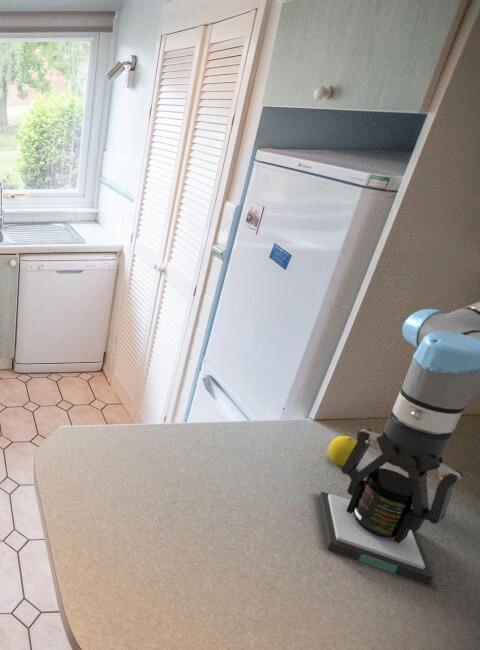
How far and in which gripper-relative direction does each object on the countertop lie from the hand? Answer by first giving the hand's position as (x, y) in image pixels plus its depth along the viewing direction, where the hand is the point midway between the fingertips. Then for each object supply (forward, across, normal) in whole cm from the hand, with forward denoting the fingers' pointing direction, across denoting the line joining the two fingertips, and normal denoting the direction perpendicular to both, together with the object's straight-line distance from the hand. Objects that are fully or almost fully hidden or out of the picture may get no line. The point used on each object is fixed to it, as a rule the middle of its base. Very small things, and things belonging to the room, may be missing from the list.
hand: (375, 523), depth 84 cm
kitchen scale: (+4, 0, 0) cm, 4 cm away
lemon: (+4, -13, +17) cm, 22 cm away
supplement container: (0, 0, 0) cm, 0 cm away
